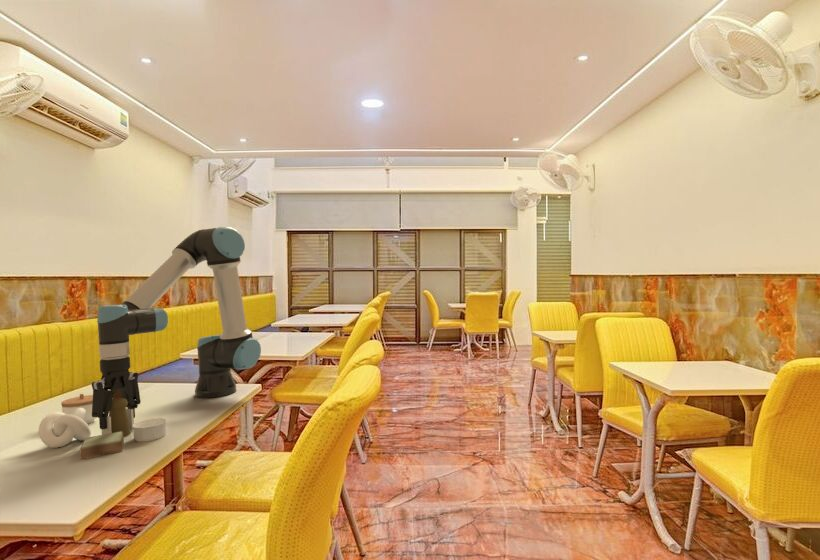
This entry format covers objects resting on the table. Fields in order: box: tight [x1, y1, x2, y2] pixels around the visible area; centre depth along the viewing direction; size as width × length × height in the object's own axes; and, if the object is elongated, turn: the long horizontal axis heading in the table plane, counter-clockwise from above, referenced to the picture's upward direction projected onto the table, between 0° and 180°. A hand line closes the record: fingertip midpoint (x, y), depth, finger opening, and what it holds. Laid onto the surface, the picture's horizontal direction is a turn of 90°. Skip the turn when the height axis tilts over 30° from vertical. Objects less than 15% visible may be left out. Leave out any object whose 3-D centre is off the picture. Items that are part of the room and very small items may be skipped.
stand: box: [80, 431, 125, 460], centre depth 123 cm, size 9×9×3 cm
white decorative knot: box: [38, 408, 92, 449], centre depth 130 cm, size 11×12×9 cm
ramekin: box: [132, 417, 168, 443], centre depth 132 cm, size 9×9×4 cm
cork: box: [108, 398, 132, 438], centre depth 135 cm, size 6×6×11 cm
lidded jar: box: [61, 393, 98, 425], centre depth 149 cm, size 11×11×9 cm
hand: (118, 434), depth 135 cm, fingers open, 7 cm apart
